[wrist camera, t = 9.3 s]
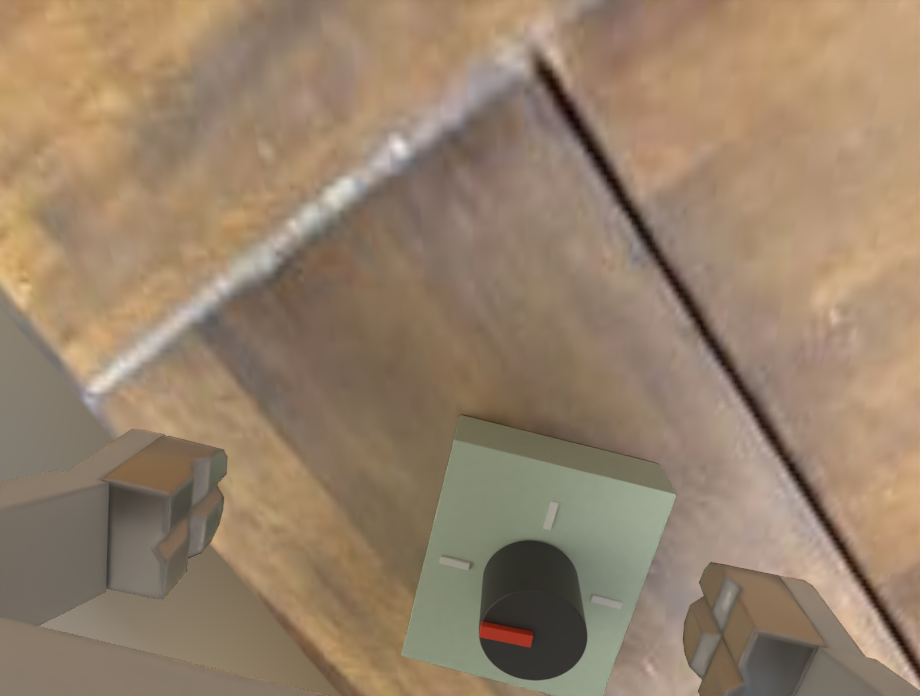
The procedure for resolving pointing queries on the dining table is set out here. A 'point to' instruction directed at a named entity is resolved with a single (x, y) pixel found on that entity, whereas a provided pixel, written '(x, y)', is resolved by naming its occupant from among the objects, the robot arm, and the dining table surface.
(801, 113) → the dining table surface
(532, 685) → the panel
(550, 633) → the dial
